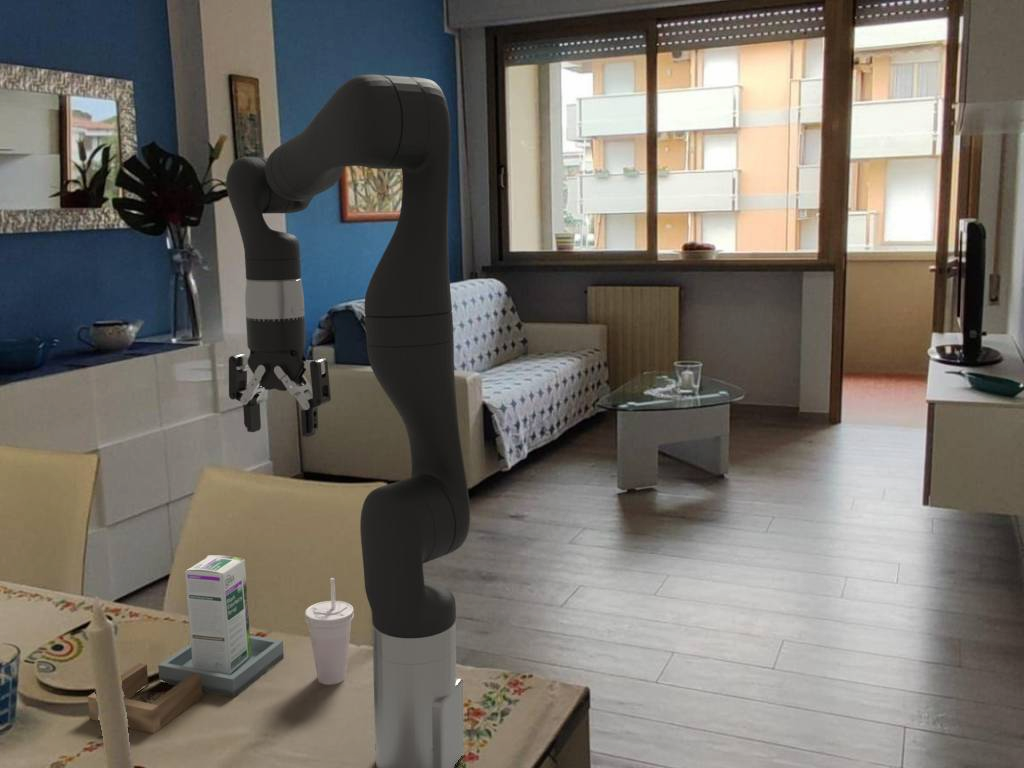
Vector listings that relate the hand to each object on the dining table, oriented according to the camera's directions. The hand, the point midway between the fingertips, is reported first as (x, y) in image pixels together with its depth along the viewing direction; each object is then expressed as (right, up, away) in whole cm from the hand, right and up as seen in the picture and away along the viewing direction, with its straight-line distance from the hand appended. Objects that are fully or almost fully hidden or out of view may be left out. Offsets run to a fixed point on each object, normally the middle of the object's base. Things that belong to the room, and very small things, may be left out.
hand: (281, 433), depth 130 cm
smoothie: (+7, -33, -1) cm, 34 cm away
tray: (-8, -32, +1) cm, 33 cm away
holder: (-15, -34, -8) cm, 38 cm away
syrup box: (-8, -32, +2) cm, 33 cm away
